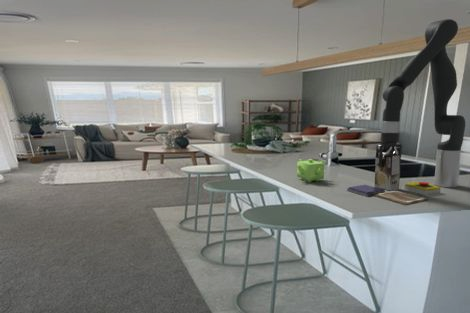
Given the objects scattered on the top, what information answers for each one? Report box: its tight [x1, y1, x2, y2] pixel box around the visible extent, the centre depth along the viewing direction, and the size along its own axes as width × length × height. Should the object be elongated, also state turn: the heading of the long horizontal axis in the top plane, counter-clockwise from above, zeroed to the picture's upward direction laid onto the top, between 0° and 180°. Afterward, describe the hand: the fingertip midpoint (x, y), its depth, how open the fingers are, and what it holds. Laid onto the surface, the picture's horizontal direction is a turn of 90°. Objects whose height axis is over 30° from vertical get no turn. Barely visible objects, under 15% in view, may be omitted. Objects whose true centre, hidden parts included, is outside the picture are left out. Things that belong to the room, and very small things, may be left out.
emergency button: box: [400, 181, 444, 197], centre depth 139 cm, size 9×4×15 cm
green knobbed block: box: [296, 158, 326, 183], centre depth 163 cm, size 15×14×11 cm
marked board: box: [374, 190, 429, 206], centre depth 129 cm, size 14×14×1 cm
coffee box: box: [373, 153, 402, 192], centre depth 144 cm, size 9×6×16 cm
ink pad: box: [346, 184, 386, 197], centre depth 139 cm, size 11×11×2 cm
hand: (387, 166), depth 144 cm, fingers open, 8 cm apart
